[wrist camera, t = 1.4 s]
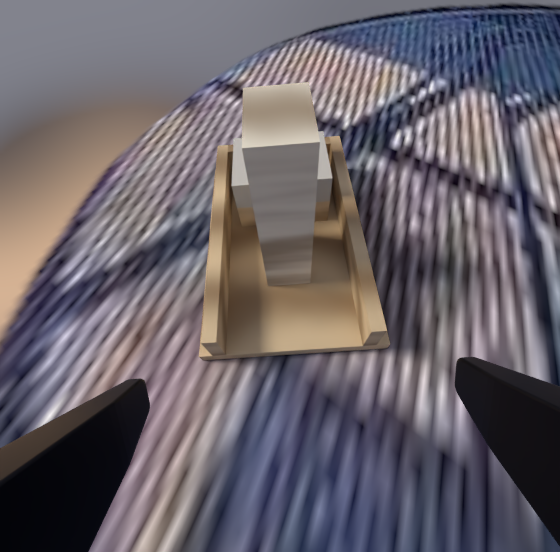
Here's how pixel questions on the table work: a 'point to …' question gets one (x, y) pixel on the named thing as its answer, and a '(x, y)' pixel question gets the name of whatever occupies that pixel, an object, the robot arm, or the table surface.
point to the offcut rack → (296, 297)
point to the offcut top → (241, 180)
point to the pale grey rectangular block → (282, 176)
